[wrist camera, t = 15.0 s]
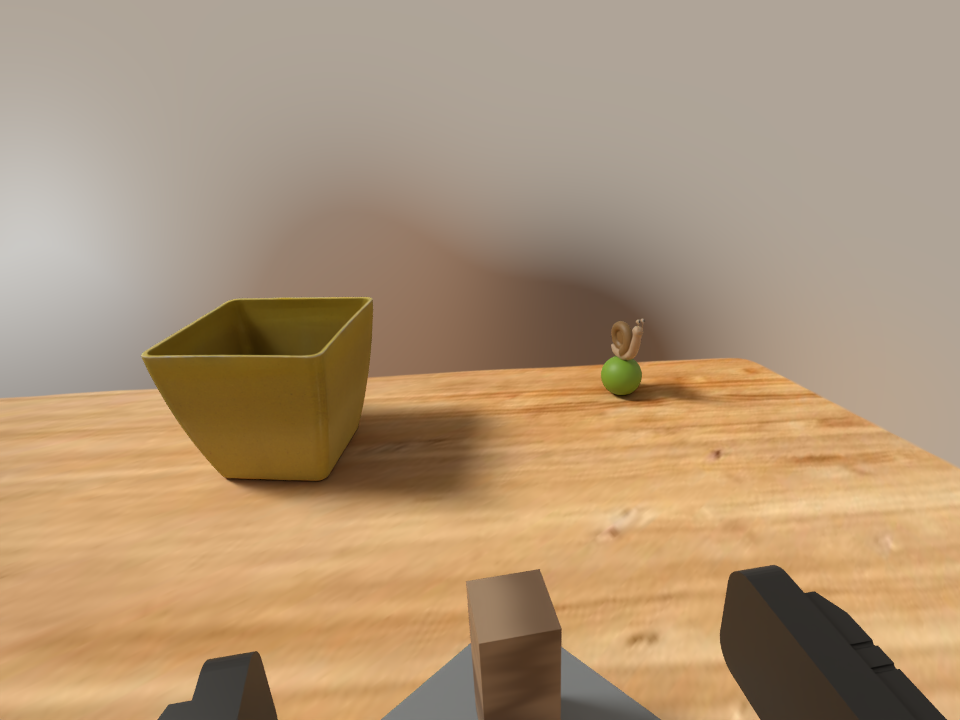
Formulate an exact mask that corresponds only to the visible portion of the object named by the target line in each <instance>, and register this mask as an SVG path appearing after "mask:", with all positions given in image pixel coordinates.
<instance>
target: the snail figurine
mask: <svg viewBox="0 0 960 720" xmlns="http://www.w3.org/2000/svg"><path fill="white" fill-rule="evenodd" d="M640 322H642V325H643V323H644V322H645V320H644V319H641V321H640V320H639V319H638V320H636V323H637V324H638V325H639V323H640ZM642 328H643V326H642ZM642 328H641V327H640V326H636V327H634V328H633V331H632V329H631V328H630V326H629V325H628V324H627V323H625V322H623V321H618V322H616V323H615V324H614V325H613V327H612V331H611V334H612V340H613V343H614V344H612V345H611V347H612V351H613V353H614V354H615V355H616V356H615V357H612V358H611V359H609V360H608V361H607V362H606V363H605V364H604V366H603V368H602V371H601V379H602V382H603V385H604V386H605V388H606V389H607V390H609V391H610V392H611V393H614V394H617V395H626V394H630V393H632V392H633V391H635V390H636V389H637V388H638V386H639V384H640V382H641V379H642V372H641V368H640V366H639V365H638V363H637V362H636V361H635V360H634V359H633V358H634V357H635V356H636V354H637V352H638V350H639V347H640V343H641V336H642V334H643V329H642Z"/></svg>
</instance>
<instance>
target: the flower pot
mask: <svg viewBox="0 0 960 720" xmlns="http://www.w3.org/2000/svg"><path fill="white" fill-rule="evenodd" d="M372 319H373V300H372V298H369V297H319V298H318V297H313V298H312V297H311V298H310V297H309V298H241V299H232V300H229V301H227V302H225V303H224V304H222V305H220V306H219V307H217V308H215V309H214V310H212V311H210V312H209V313H207V314H205V315H204V316H202V317H201V318H199V319H197V320H196V321H194V322H192V323H191V324H189V325H187V326H186V327H184V328H182V329H181V330H179V331H177V332H176V333H174V334H172V335H171V336H169V337H167V338H166V339H164V340H162V341H161V342H159V343H158V344H156V345H154V346H153V347H151V348H149V349H148V350H146V351H145V352H143V353H142V355H141V357H142V359H143V361H144V363H145V365H146V367H147V370H148V372H149V374H150V376H151V377H152V379H153V381H154V383H155V385H156V386H157V388H158V390H159V392H160V393H161V395H162V397H163V399H164V400H165V402H166V404H167V405H168V407H169V409H170V410H171V412H172V413H173V415H174V416H175V418H176V419H177V421H178V422H179V424H180V425H181V426H182V428H183V429H184V431H185V432H186V433H187V435H188V436H189V437H190V439H191V440H192V441H193V443H194V444H195V445H196V446H197V448H198V449H199V450H200V451H201V453H202V454H203V455H204V456H205V457H206V459H207V460H208V461H209V462H210V463H211V464H212V466H213V467H214V468H215V469H216V470H217V471H218V472H219V473H220V474H221V475H222V476H223V477H226V478H246V479H277V480H311V481H318V480H322V479H324V478H326V477H327V476H328V475H329V474H330V472H331V471H332V469H333V467H334V466H335V464H336V462H337V461H338V459H339V458H340V456H341V454H342V453H343V451H344V449H345V448H346V446H347V444H348V443H349V441H350V440H351V438H352V436H353V435H354V433H355V432H356V430H357V429H358V425H359V421H360V417H361V412H362V408H363V403H364V397H365V391H366V385H367V378H368V371H369V363H370V353H371V341H372Z"/></svg>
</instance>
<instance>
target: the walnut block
mask: <svg viewBox="0 0 960 720" xmlns="http://www.w3.org/2000/svg"><path fill="white" fill-rule="evenodd" d="M466 585H467V599H468V612H469V625H470V638H471V651H472V664H473V677H474V690H475V703H476V711H477V716H478V720H561V626H560V623H559V621H558V618H557V615H556V613H555V610H554V607H553V604H552V602H551V599H550V596H549V593H548V591H547V588H546V585H545V583H544V580H543V577H542V574H541V572H540V569H538V570H532V571H526V572H520V573H514V574H508V575H502V576H496V577H490V578H484V579H478V580H472V581H466Z"/></svg>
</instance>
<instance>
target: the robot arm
mask: <svg viewBox="0 0 960 720" xmlns="http://www.w3.org/2000/svg"><path fill="white" fill-rule="evenodd" d="M720 643H721V649H722V653H723V656H724V659H725V662H726V664H727V666H728V668H729V670H730V672H731V674H732V675H733V677H734V679H735V680H736V682H737V683H738V685H739V686H740V688H741V690H742V691H743V693H744V694H745V696H746V698H747V699H748V701H749V702H750V704H751V705H752V707H753V709H754V710H755V712H756V713H757V715H758V717H759V718H760V720H947V719H946V718H945V717H944V716H943V715H942V714H941V713H940V712H939V711H938V710H937V709H936V708H935V706H934V705H933V704H932V703H931V702H930V701H929V700H928V699H927V698H926V697H925V696H924V695H923V694H922V693H921V691H920V690H919V689H918V688H917V687H916V686H915V685H914V684H913V683H912V682H911V681H910V680H909V679H908V678H907V676H906V675H905V674H904V673H903V672H902V671H901V670H900V669H896V668H895V666H894V663H893V661H892V660H891V659H890V658H889V657H888V656H887V655H886V654H885V653H884V652H883V651H882V650H881V649H880V648H879V646H875V645H874V644H873V640H872V639H871V638H870V637H869V636H868V635H867V634H866V633H865V631H864V630H863V629H862V628H861V627H860V626H859V625H858V624H857V623H856V622H855V621H854V620H853V619H852V618H851V616H850V615H849V614H848V613H847V612H845V611H844V610H842V609H841V608H839V607H838V606H836V605H834V604H833V603H831V602H830V601H828V600H827V599H825V598H824V597H822V596H821V595H819V594H818V593H816V592H815V591H814V592H808V593H804V592H803V591H802V590H801V589H800V588H799V586H798V585H797V584H796V583H795V582H794V581H793V580H792V579H791V577H790V576H789V575H788V574H787V573H786V572H785V571H784V570H783V569H782V568H780V567H778V566H776V565H770V566H764V567H759V568H753V569H747V570H741V571H735V572H733V573H731V575H730V577H729V580H728V586H727V592H726V598H725V604H724V611H723V617H722V623H721V630H720ZM158 720H278V719H277V714H276V710H275V706H274V703H273V699H272V695H271V692H270V688H269V685H268V681H267V677H266V674H265V670H264V667H263V663H262V660H261V657H260V654H259V653H258V652H257V651H255V652H249V653H243V654H237V655H231V656H226V657H220V658H214V659H209V660H207V661H206V662H205V663H204V665H203V667H202V669H201V672H200V675H199V678H198V682H197V685H196V688H195V692H194V695H193V698H192V701H186V702H181V703H175V704H170V705H168V706H167V708H166V709H165V710H164V712H163V713H162V714H161V716H160V717H159V719H158Z"/></svg>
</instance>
